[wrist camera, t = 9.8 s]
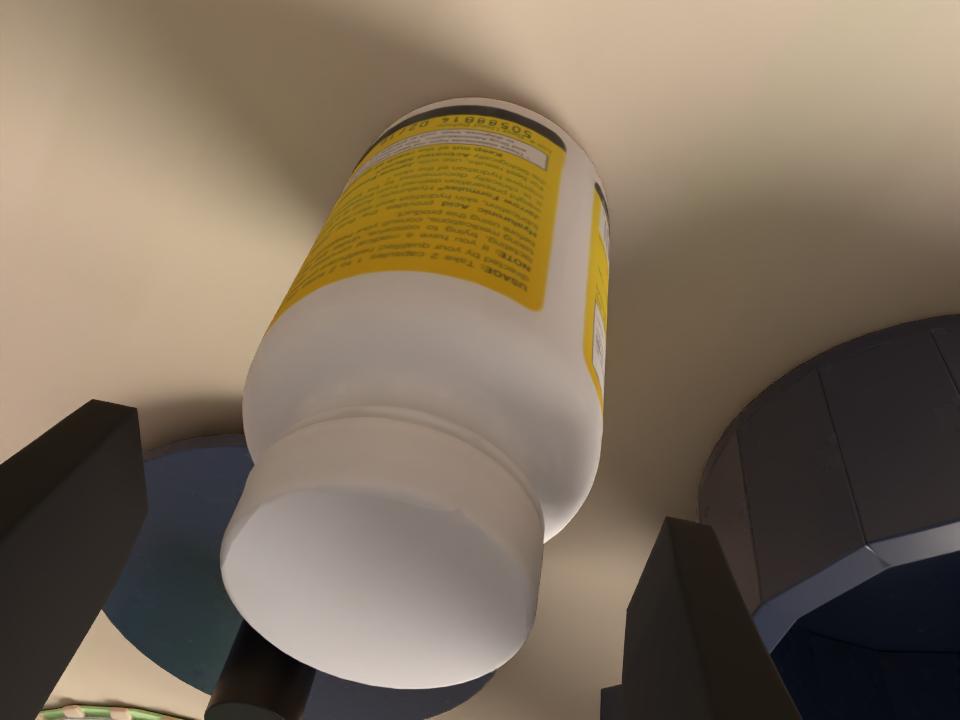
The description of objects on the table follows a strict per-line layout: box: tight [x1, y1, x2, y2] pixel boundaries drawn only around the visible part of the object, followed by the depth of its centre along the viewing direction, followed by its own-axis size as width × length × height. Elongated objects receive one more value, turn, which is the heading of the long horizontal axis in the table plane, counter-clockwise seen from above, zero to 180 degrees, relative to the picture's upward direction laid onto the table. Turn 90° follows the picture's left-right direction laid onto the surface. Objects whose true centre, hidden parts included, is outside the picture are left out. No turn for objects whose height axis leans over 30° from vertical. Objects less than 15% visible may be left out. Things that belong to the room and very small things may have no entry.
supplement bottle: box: [220, 97, 610, 689], centre depth 15 cm, size 5×5×10 cm
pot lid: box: [102, 434, 498, 720], centre depth 25 cm, size 13×13×5 cm
